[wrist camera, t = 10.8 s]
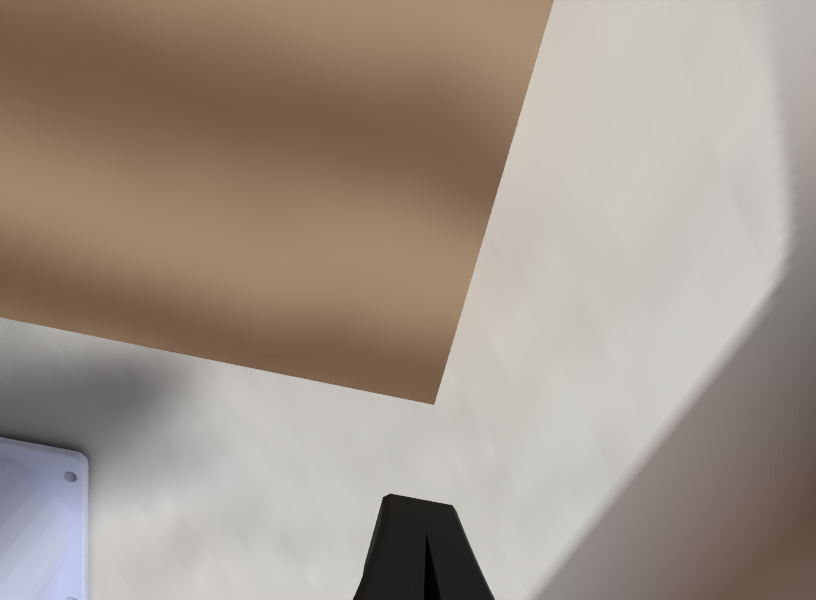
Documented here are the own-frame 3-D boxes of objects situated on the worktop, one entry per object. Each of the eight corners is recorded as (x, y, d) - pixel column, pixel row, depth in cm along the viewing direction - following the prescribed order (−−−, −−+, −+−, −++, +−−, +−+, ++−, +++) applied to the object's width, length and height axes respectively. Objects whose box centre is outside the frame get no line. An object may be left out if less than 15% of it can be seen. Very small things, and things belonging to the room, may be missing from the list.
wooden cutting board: (430, 358, 19) (434, 404, 17) (33, 275, 18) (-34, 310, 16) (558, -95, 14) (594, -137, 11) (14, -250, 13) (-92, -338, 10)
